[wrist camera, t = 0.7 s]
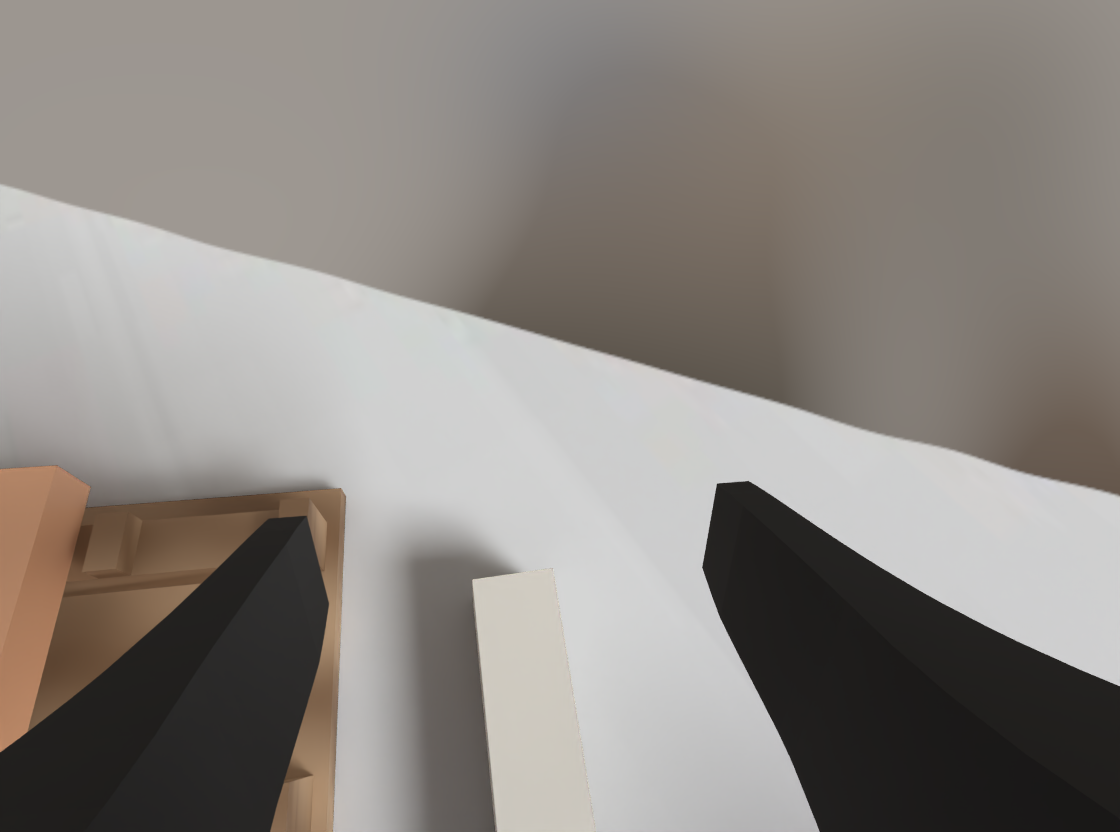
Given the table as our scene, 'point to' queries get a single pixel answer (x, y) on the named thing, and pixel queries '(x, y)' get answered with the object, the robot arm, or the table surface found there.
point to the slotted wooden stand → (167, 580)
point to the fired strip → (32, 580)
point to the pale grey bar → (529, 706)
